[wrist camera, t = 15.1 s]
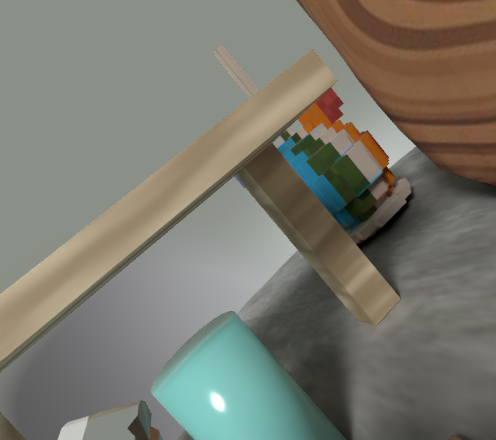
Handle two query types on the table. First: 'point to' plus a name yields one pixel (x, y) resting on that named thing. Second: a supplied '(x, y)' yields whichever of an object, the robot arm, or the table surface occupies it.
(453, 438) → the tray
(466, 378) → the table surface
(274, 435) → the mint green cylinder
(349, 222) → the toy
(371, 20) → the brown wooden cube stool
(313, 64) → the wooden step stool
